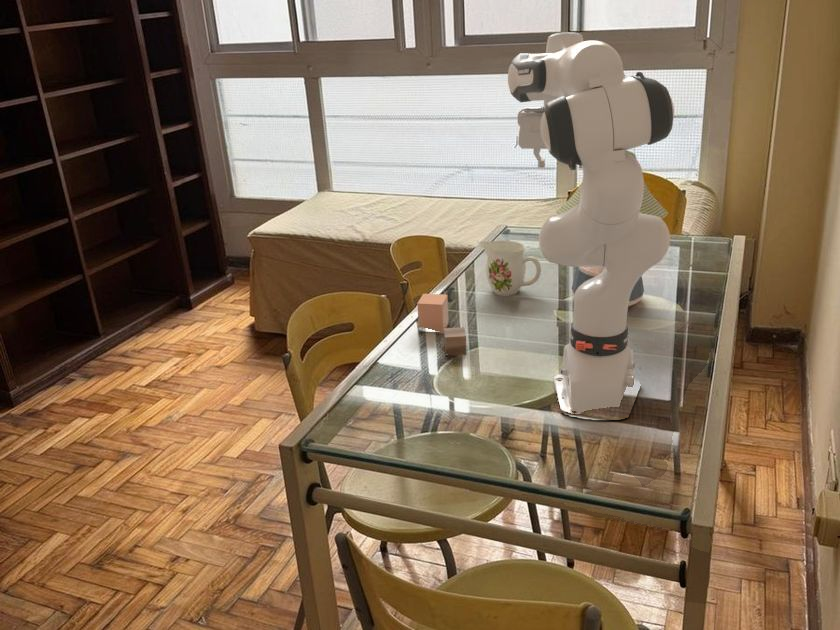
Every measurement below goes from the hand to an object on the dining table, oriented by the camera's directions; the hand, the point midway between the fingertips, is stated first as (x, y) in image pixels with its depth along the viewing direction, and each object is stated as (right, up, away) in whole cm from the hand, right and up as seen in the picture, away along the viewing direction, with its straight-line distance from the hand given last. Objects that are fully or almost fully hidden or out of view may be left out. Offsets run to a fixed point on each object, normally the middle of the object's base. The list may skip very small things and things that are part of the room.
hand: (561, 167), depth 188 cm
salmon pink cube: (-30, -38, +20) cm, 52 cm away
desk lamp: (+18, -31, +30) cm, 46 cm away
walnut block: (-25, -43, +7) cm, 50 cm away
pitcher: (-8, -28, +39) cm, 49 cm away
